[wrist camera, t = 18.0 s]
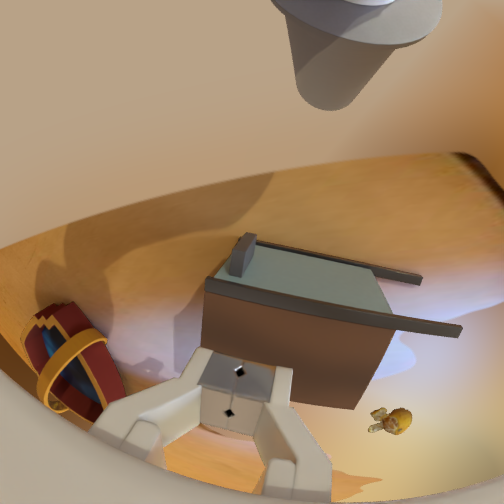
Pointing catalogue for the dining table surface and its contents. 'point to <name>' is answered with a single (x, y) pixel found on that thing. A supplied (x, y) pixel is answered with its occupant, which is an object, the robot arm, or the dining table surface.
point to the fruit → (391, 420)
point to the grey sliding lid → (302, 276)
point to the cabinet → (308, 333)
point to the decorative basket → (71, 362)
